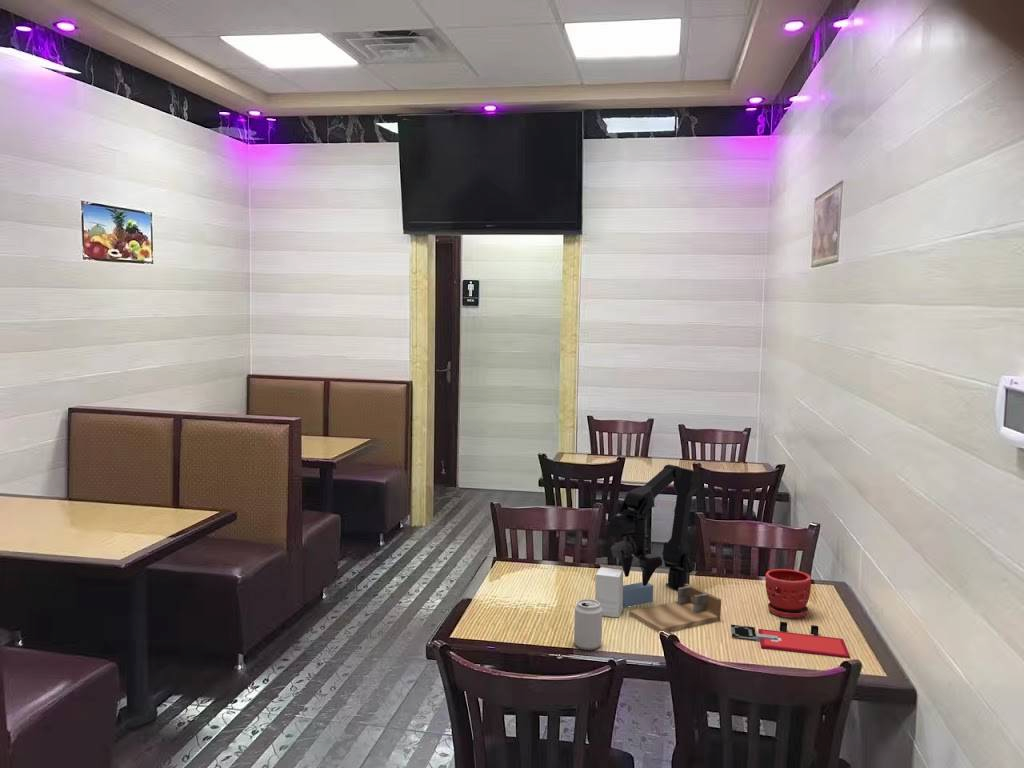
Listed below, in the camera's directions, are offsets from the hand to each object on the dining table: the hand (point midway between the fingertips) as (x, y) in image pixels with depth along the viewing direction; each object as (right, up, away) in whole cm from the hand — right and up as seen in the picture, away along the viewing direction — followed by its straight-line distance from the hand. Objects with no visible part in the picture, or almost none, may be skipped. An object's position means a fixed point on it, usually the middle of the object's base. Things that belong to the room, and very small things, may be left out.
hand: (635, 581), depth 243 cm
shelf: (+10, -8, -12) cm, 17 cm away
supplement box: (-9, -8, -8) cm, 14 cm away
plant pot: (+45, -8, -6) cm, 46 cm away
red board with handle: (+38, -11, -26) cm, 48 cm away
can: (-18, -10, -32) cm, 38 cm away
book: (0, -7, +1) cm, 7 cm away
